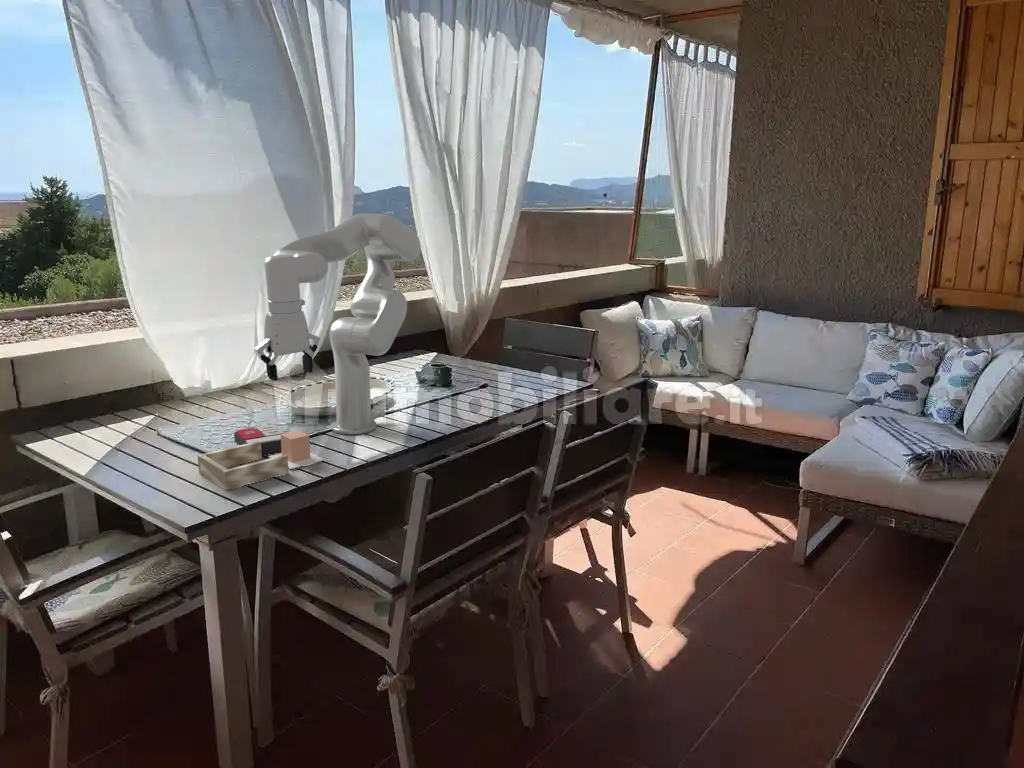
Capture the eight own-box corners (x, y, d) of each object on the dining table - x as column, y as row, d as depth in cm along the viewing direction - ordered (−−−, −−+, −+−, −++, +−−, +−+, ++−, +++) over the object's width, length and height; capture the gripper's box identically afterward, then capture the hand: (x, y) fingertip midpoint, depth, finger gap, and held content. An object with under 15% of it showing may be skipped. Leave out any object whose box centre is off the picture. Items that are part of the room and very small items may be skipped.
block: (299, 452, 186) (298, 430, 185) (310, 457, 183) (309, 435, 181) (281, 457, 183) (280, 434, 181) (292, 462, 179) (290, 439, 178)
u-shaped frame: (259, 458, 183) (258, 441, 182) (288, 473, 174) (287, 456, 173) (199, 473, 173) (197, 455, 172) (226, 490, 163) (224, 472, 162)
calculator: (275, 423, 200) (291, 435, 188) (276, 438, 201) (292, 451, 189) (233, 429, 195) (247, 442, 182) (234, 444, 195) (249, 459, 183)
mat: (300, 450, 190) (300, 448, 189) (323, 461, 182) (323, 459, 182) (268, 458, 183) (268, 456, 183) (290, 470, 176) (290, 468, 176)
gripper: (307, 300, 185) (312, 365, 190) (243, 310, 173) (250, 379, 178) (324, 304, 180) (329, 371, 185) (259, 314, 168) (266, 386, 173)
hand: (290, 375), depth 181 cm, fingers open, 9 cm apart
